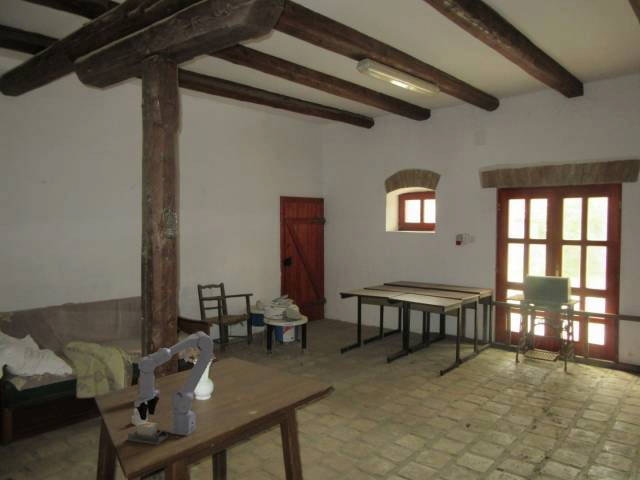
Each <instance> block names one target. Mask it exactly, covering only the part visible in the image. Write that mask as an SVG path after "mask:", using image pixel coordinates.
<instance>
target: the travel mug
mask: <svg viewBox="0 0 640 480" xmlns="http://www.w3.org/2000/svg"><path fill="white" fill-rule="evenodd" d="M137 368H138V373H137V397H138V395H140V368H139V366H138V367H137ZM155 380H156V379H155V373H154V390H155V389H156V388H155V387H156V384H155V383H156V381H155ZM138 398H139V397H138ZM138 398H137V399H138Z"/></svg>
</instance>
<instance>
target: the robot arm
mask: <svg viewBox="0 0 640 480" xmlns="http://www.w3.org/2000/svg"><path fill="white" fill-rule="evenodd" d="M214 345H215V343H214V341H213V339H212V337H211V336H209V335H208V334H206V332H204V331H203V330H202V331H201V330H199V331H196V332H194V333H192V334H190V335H189V336H188V337H185V338H184V339H182V340H181V341H179V342H177V343H176V344H174V345H172V346H171V347H169V348H167V347H163V348H162V347H160V348H159V349H158V350H157V351H155V352H154V353H150V354H148V355H147V356H143V357H141V358H140V359H139V361H138V363H137V366H138V367H139V368H140V395H138V394H137V397H139V398H137V399H136V400H135V401H134V402H133V403H134V404H133V406H134V407H135V408H137V410H138V412H139V414H140V418H141V420H146V418H147V415H152V416H153V415H155V411H156V407H157V404H158V402H159V400H160V397H159V396H158V395H160V389H156V388H155V390H154V374H155V369H156V368H157V367H159V366H161V365H163V364H164V363H166V362H168V361H170V360H171V359H172V357H173V356H174V355H175V354H176V355H177V354H178V353H180V352H182V351H184V350H186V349H189V348H192V349H198V353H199V356H198V358H197V360H196V361H195V364H194V365H193V367H192V369H191V370H190V373H189V374H188V377H187V379H185V382H184V383H183V386H182V387H180V388H179V389H178V390H177V392H176V393H175V394H173V396H172V397H171V404H172V405H173V408H172V409H173V410H172V429H170V430H169V431H168V433H169V434H173V435H180V436H188V437H189V435H191V434H192V433H193V432H194V431H196V429H197V415H196V413H195V412H194V411H191V410H190V409H192V402H193V398H194V393H195V391H196V388H197V387H198V384H199V383H200V381H201V379H202V377H203V375H204V373H205V371H206V369H207V368H208V366H209V364H210V362H211V360H212V358H213V356H214ZM146 401H147V404H146V403H145V402H146Z"/></svg>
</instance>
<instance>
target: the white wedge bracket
mask: <svg viewBox="0 0 640 480" xmlns="http://www.w3.org/2000/svg"><path fill="white" fill-rule="evenodd" d="M145 403H146V404H147V401H146V402H145ZM148 415H149V414H147V418H146V420H141V418H140V414H139V412H138V410H137V408H136V407H135V408H134V409H133V415H132V416H131V424H133V425H134V426H137V425H138V424H140V423H141V422H143V421H144V422H149V421H148V420H149V419H148Z"/></svg>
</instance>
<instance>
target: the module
mask: <svg viewBox="0 0 640 480" xmlns="http://www.w3.org/2000/svg"><path fill="white" fill-rule="evenodd" d="M157 429H158V423H157V422H149V421H147V422H144V421H143V422H141V423H140V424H138V425H136V431H137V434H138V435H145V436H151V437H153V436H155V435H156V434H157Z"/></svg>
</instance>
